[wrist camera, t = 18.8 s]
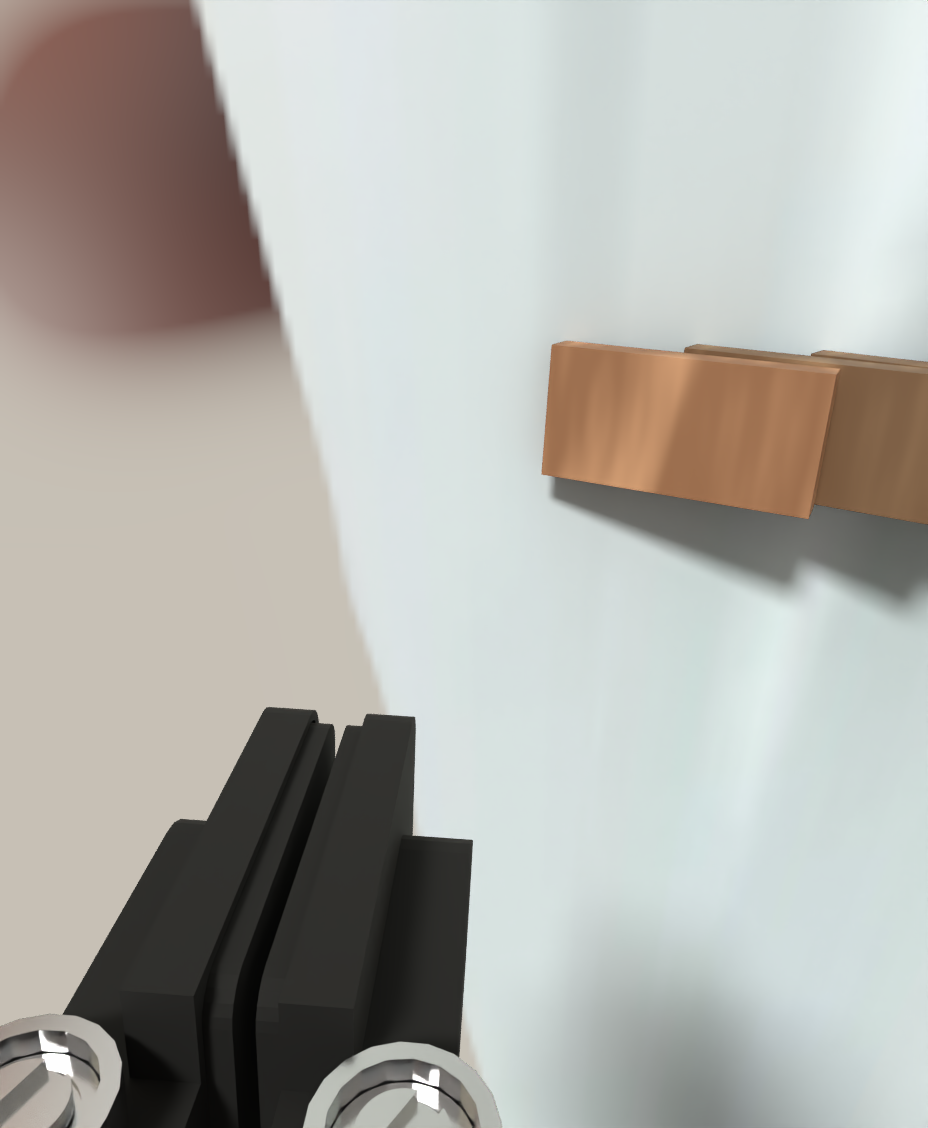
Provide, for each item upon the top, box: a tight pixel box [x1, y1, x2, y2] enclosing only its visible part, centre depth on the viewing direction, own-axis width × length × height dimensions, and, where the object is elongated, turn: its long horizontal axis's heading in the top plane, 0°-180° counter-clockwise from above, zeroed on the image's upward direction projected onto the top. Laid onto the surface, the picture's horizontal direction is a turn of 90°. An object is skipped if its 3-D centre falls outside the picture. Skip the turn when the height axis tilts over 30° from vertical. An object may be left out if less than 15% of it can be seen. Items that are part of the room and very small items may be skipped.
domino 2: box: [684, 344, 928, 524], centre depth 32 cm, size 2×5×10 cm
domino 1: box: [542, 341, 840, 519], centre depth 33 cm, size 2×5×10 cm
